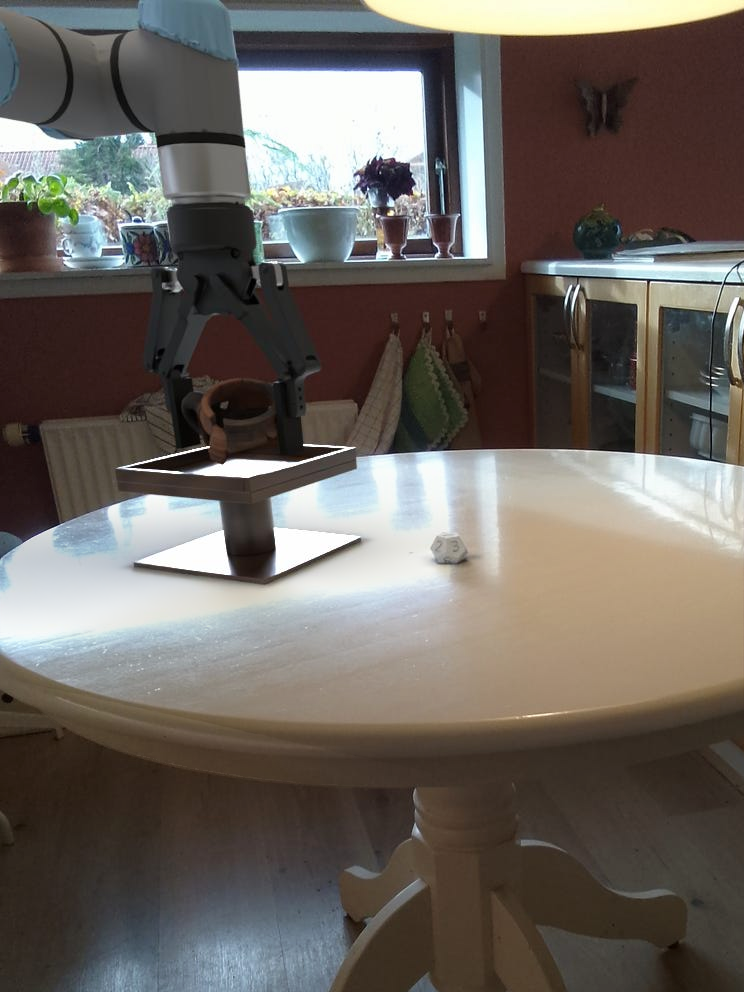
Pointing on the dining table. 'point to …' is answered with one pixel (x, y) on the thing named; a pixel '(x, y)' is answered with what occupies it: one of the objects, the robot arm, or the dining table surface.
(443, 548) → the game die
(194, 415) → the pottery mug
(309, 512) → the dining table surface
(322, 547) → the cup holder
